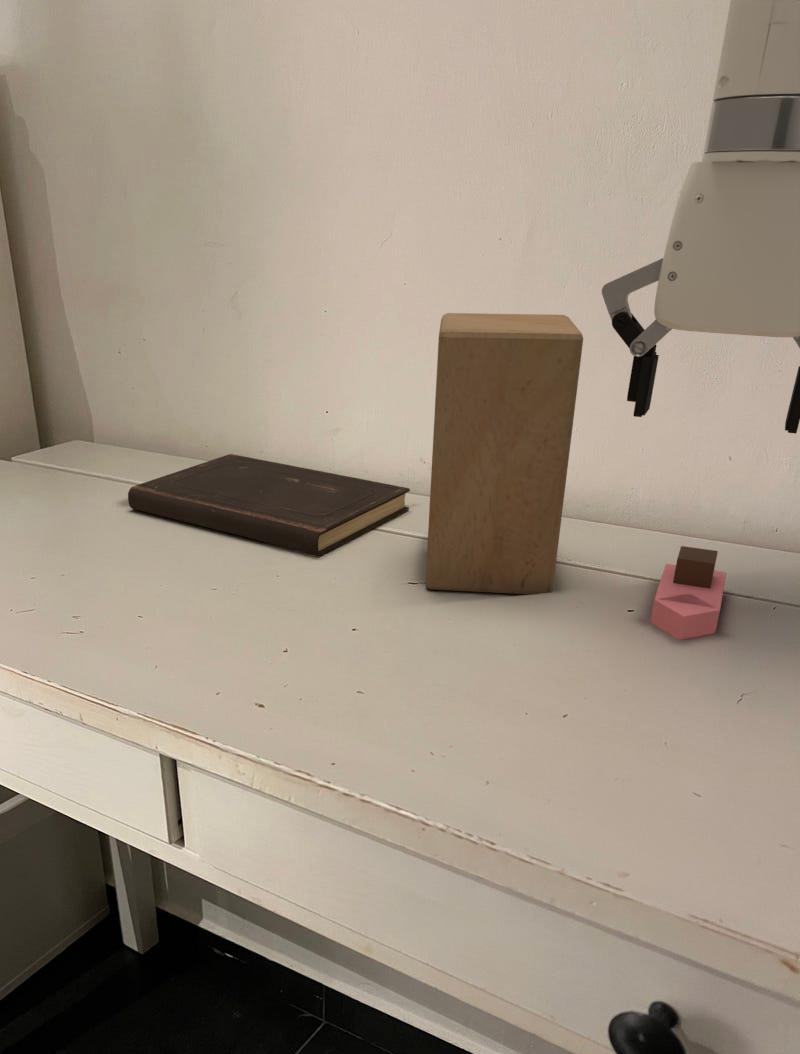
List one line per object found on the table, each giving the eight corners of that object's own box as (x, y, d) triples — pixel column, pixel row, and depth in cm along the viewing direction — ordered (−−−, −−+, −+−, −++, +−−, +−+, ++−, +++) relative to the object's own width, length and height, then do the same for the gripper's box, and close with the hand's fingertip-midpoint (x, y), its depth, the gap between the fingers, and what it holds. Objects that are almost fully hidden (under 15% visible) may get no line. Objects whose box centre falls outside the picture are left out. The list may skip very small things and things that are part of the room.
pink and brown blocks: (660, 593, 73) (670, 539, 70) (720, 603, 71) (731, 547, 69) (644, 643, 65) (655, 583, 63) (711, 655, 63) (724, 594, 61)
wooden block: (428, 547, 82) (441, 312, 73) (542, 552, 81) (569, 314, 72) (424, 591, 73) (439, 329, 64) (552, 597, 72) (585, 332, 63)
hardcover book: (231, 473, 103) (230, 453, 102) (408, 510, 91) (409, 488, 90) (128, 510, 91) (126, 488, 90) (317, 558, 79) (317, 533, 78)
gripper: (930, 139, 55) (852, 424, 63) (633, 140, 61) (595, 398, 69) (947, 132, 49) (858, 448, 56) (615, 134, 55) (575, 418, 63)
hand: (713, 420), depth 63 cm, fingers open, 9 cm apart
